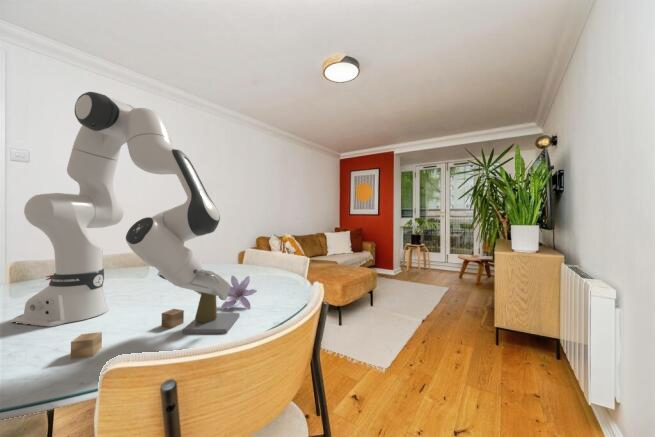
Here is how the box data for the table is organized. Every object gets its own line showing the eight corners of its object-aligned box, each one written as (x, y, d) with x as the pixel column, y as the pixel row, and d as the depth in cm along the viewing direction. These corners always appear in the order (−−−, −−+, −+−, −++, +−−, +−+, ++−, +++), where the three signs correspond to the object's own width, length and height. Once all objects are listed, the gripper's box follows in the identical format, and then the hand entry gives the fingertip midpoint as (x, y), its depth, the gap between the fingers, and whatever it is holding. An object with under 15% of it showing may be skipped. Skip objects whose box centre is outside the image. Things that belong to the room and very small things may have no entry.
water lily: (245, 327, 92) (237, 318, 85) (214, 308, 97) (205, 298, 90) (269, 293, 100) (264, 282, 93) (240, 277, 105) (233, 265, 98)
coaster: (182, 333, 71) (182, 329, 71) (202, 316, 83) (202, 313, 83) (226, 333, 72) (226, 329, 72) (239, 316, 84) (239, 313, 84)
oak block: (70, 359, 58) (70, 341, 58) (81, 350, 62) (81, 334, 62) (92, 356, 59) (92, 339, 59) (101, 348, 63) (101, 332, 63)
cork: (200, 312, 81) (204, 278, 81) (219, 314, 82) (223, 280, 81) (191, 321, 75) (195, 284, 74) (212, 323, 76) (216, 287, 75)
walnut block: (161, 326, 76) (161, 313, 76) (173, 321, 79) (173, 308, 79) (172, 328, 74) (172, 314, 74) (183, 323, 78) (183, 310, 78)
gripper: (217, 262, 66) (245, 291, 75) (169, 256, 76) (199, 282, 84) (201, 284, 62) (233, 311, 71) (153, 274, 72) (186, 299, 80)
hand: (214, 295), depth 78 cm, fingers open, 8 cm apart
